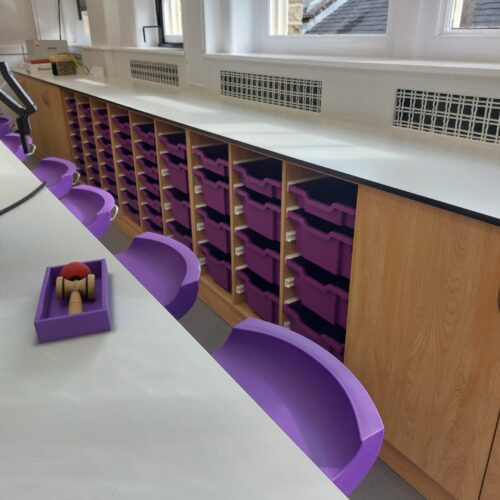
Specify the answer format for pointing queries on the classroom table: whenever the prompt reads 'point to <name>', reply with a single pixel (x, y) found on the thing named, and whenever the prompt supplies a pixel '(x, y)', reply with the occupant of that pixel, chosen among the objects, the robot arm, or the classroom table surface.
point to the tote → (56, 311)
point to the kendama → (75, 285)
